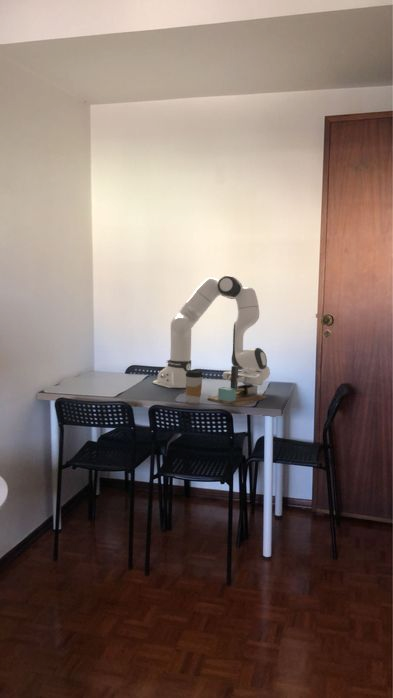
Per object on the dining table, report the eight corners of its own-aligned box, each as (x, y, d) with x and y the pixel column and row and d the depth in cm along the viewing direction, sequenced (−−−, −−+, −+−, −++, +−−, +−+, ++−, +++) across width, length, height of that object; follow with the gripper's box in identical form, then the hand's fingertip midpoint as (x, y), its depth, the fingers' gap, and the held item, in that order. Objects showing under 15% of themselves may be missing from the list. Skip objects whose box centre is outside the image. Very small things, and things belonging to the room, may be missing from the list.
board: (207, 399, 287) (207, 397, 287) (236, 392, 308) (236, 390, 307) (238, 406, 277) (238, 404, 276) (266, 398, 297) (266, 396, 297)
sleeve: (236, 394, 297) (237, 386, 297) (246, 392, 304) (246, 383, 303) (247, 396, 293) (248, 388, 293) (256, 394, 300) (257, 385, 300)
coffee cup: (195, 404, 276) (197, 373, 274) (181, 402, 280) (182, 371, 278) (205, 401, 283) (206, 371, 281) (190, 399, 287) (191, 369, 285)
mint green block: (218, 399, 285) (218, 388, 284) (223, 398, 289) (224, 386, 288) (229, 401, 281) (230, 390, 280) (235, 400, 284) (236, 389, 284)
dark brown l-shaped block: (224, 397, 285) (226, 367, 283) (240, 393, 296) (242, 364, 294) (229, 398, 284) (231, 367, 282) (245, 394, 295) (247, 364, 293)
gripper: (232, 367, 304) (216, 370, 293) (266, 372, 291) (251, 376, 281) (231, 379, 305) (215, 382, 294) (265, 385, 292) (250, 389, 281)
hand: (233, 379), depth 287 cm, fingers closed on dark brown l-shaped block, 2 cm apart
